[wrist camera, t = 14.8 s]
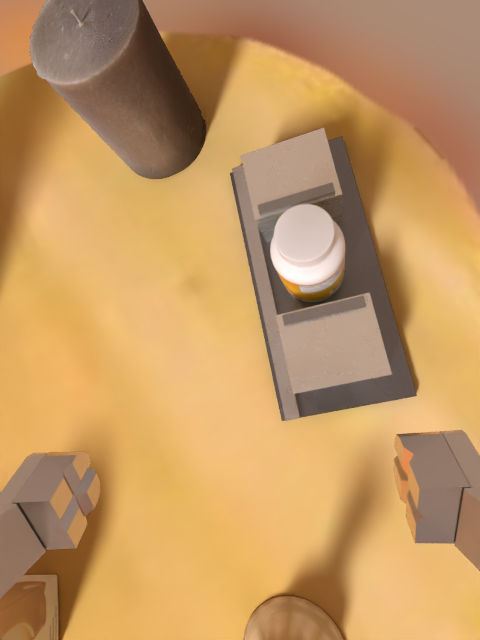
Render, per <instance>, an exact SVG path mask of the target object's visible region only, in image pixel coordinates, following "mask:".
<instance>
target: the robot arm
mask: <svg viewBox="0 0 480 640" xmlns="http://www.w3.org/2000/svg"><path fill="white" fill-rule="evenodd" d="M395 449H396V452H397V455H398V456H397V457H396V458H395V459H394V474H395V481H396V486H397V490H398V493H399V496H400V499H401V500H402V501H403V502H404V503H406V518H407V521H408V524H409V527H410V530H411V533H412V536H413V539H414V542H415V543H455V546H456V547H457V548H458V549H459V550H460V551H461V552H462V553H463V554H464V555H465V556H466V557H467V558H468V559H469V560H470V561H471V563H472V564H473V565H474V566H475V567H476V568H477V569H478V570H479V571H480V456H479V454H478V452H477V451H476V449H475V447H474V446H473V444H472V442H471V441H470V439H469V438H468V436H467V434H466V433H465V432H464V431H462V430H455V431H440V432H424V433H409V434H396V437H395ZM90 463H91V460H90V458H89V456H88V454H87V452H82V451H81V452H49V453H32V454H31V455H29V456H27V457H26V459H25V460H24V462H23V463H22V464H21V466H20V467H19V468H18V470H17V471H16V473H15V474H14V475H13V477H12V478H11V479H10V481H9V482H8V484H7V485H6V486H5V488H4V489H3V490H2V492H1V493H0V599H1V597H2V596H3V595H4V594H5V593H6V592H7V591H8V590H9V589H10V588H11V587H12V586H13V585H14V584H15V583H16V582H17V581H18V580H19V579H20V578H21V577H22V576H23V575H24V574H25V573H26V572H27V571H28V570H29V569H30V568H31V567H32V566H33V564H34V563H35V562H36V561H37V560H38V559H39V558H40V557H41V556H42V555H43V554H44V553H45V552H46V550H52V549H73V548H77V546H78V544H79V541H80V539H81V537H82V535H83V533H84V531H85V528H86V526H87V520H86V516H87V515H88V514H89V513H90V512H91V511H92V510H93V509H95V506H96V504H97V502H98V499H99V494H100V488H101V487H100V480H99V477H98V475H97V473H96V472H95V471H94V470H92V469H91V468H89V465H90Z"/></svg>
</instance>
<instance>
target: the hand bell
mask: <svg viewBox="0 0 480 640" xmlns="http://www.w3.org/2000/svg"><path fill="white" fill-rule="evenodd" d="M244 640H344V639H343V637H342V635H341V633H340V631H339V629H338V628H337V626H336V624H335V623H334V622H333V620H332V619H331V618H330V617H329V616H328V615H327V614H326V613H325V612H324V611H323V610H322V609H321V608H320V607H318V606H317V605H315V604H314V603H312V602H310V601H308V600H306V599H303V598H300V597H295V596H279V597H275V598H271V599H269V600H267V601H266V602H264V603H263V604H261V605H260V606H259V607H258V608H257V609H256V610H255V611H254V613H253V614H252V616H251V617H250V619H249V621H248V623H247V626H246V629H245V633H244Z"/></svg>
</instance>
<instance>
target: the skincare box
mask: <svg viewBox="0 0 480 640" xmlns="http://www.w3.org/2000/svg"><path fill="white" fill-rule="evenodd" d="M58 626H59V625H58V581H57V575H23V576H22V577H21V578H20V579H19V580H18V581H17V582H16V583H15V584H14V585H13V586H12V587H11V588H10V589H9V590H8V591H7V592H6V593H5V594H4V595H3V596H2V597H1V599H0V640H58Z"/></svg>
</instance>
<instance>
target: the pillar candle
mask: <svg viewBox="0 0 480 640" xmlns="http://www.w3.org/2000/svg"><path fill="white" fill-rule="evenodd" d="M30 49H31V50H30V55H31V59H32V63H33V66H34V67H35V69H36V71H37V74H38V76H39V77H41V78H42V79H45V80H46V81H47V82H48V83H49V84H50V85H51V86H52V88H53V89H54V90H55V91H56V92H57V93H58V94H59V95H60V96H61V97H62V98H64V100H65V101H66V102H67V103H68V104H69V105H70V106H71V107H72V109H73V110H75V111H76V112H77V113H78V114H79V115H80V117H81V118H82V119H83V120H84V121H85V122H86V123H87V124H88V125H89V126H90V127H91V128H92V129H93V130H94V131H95V132H96V133H97V134H98V135H99V136H100V137H101V138H102V140H103V141H104V142H105V143H107V144H108V145H109V146H110V148H111V149H112V150H114V151H115V153H116V154H117V155H118V156H119V157H120V158H121V159H122V160H123V161H124V162H125V163H126V164H127V165H128V166H129V167H130V168H131V169H132V170H133V171H135V172H136V173H137V174H138V175H140V176H143V177H146V178H150V179H162V178H166V177H169V176H171V175H174V174H176V173H178V172H180V171H182V170H184V169H185V168H186V167H188V166H189V165H190V164H191V163H192V162H193V161H194V160H195V158H196V157H197V155H198V154H199V151H200V150H201V148H202V146H203V142H204V139H205V132H206V125H205V124H206V123H205V120H203V117H202V115H201V111H200V109H199V107H198V105H197V103H196V101H195V99H194V97H193V96H192V94H191V93H190V91H189V88H188V86H187V84H186V82H185V81H184V79H183V77H182V75H181V73H180V71H179V69H178V68H177V66H176V64H175V62H174V60H173V59H172V57H171V55H170V53H169V51H168V49H167V47H166V45H165V43H164V42H163V40H162V38H161V36H160V34H159V32H158V30H157V28H156V26H155V24H154V22H153V20H152V18H151V16H150V14H149V12H148V11H147V9H146V7H145V5H144V3H143V1H142V0H47V1H46V3H45V4H44V5H43V7H42V10H41V11H40V15H39V17H38V19H37V21H36V22H35V24H34V25H33V32H32V34H31V36H30Z"/></svg>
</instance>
